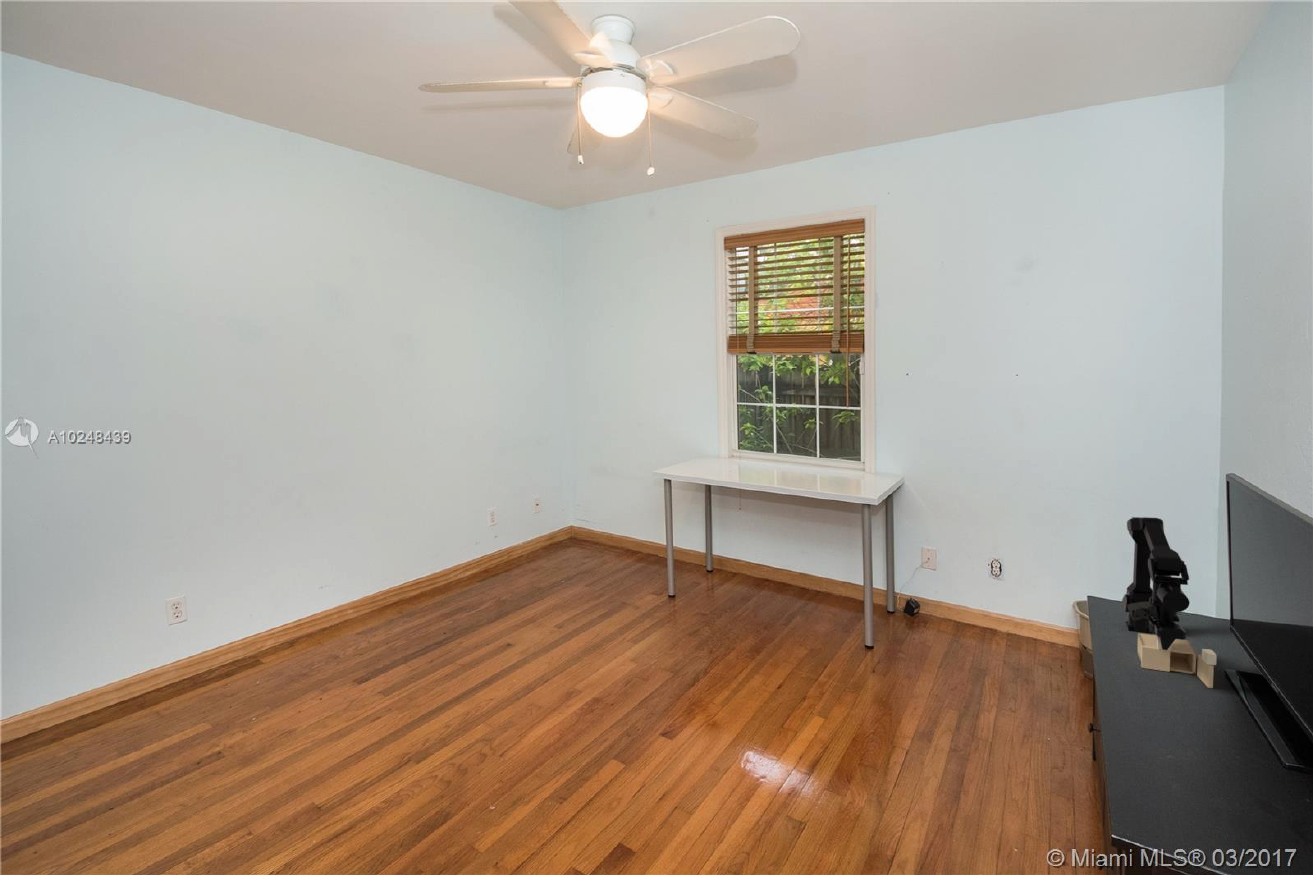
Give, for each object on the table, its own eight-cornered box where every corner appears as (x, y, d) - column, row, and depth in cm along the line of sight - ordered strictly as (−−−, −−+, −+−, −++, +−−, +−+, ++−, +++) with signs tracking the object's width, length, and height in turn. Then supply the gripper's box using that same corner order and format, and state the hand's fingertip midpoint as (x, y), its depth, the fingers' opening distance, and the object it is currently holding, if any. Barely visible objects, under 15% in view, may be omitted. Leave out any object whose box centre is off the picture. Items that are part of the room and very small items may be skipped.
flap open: (1206, 687, 167) (1207, 654, 165) (1194, 675, 173) (1196, 643, 171) (1215, 688, 166) (1216, 654, 165) (1203, 676, 172) (1204, 643, 171)
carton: (1137, 652, 187) (1137, 632, 187) (1187, 659, 181) (1188, 639, 180) (1142, 666, 180) (1143, 645, 179) (1195, 674, 174) (1196, 653, 173)
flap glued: (1140, 665, 180) (1141, 634, 179) (1168, 669, 177) (1169, 637, 175) (1142, 668, 178) (1142, 637, 177) (1170, 672, 175) (1171, 640, 174)
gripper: (1125, 582, 186) (1124, 629, 188) (1135, 606, 170) (1134, 657, 172) (1171, 586, 180) (1170, 635, 182) (1187, 612, 164) (1185, 665, 166)
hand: (1163, 647), depth 176 cm, fingers closed
